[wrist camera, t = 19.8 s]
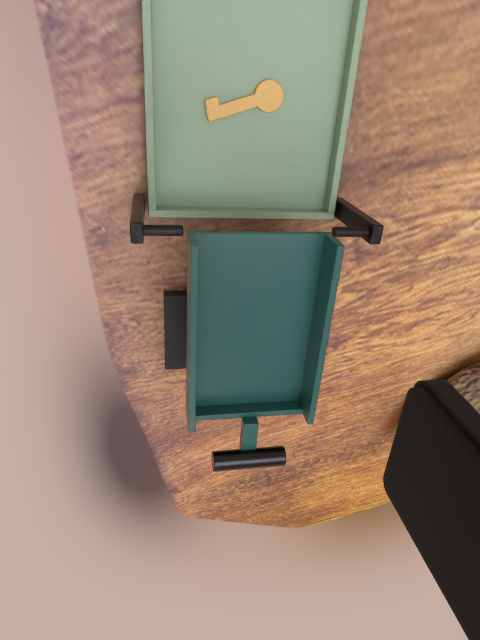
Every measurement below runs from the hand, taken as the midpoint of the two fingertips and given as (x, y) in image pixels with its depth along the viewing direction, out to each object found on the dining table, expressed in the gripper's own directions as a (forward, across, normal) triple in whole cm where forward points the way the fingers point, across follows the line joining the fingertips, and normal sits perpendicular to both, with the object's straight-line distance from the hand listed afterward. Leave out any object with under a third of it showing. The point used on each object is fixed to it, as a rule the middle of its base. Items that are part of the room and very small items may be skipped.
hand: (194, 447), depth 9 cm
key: (+30, -6, -5) cm, 31 cm away
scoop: (+23, -6, +12) cm, 27 cm away
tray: (+30, -6, -8) cm, 32 cm away
